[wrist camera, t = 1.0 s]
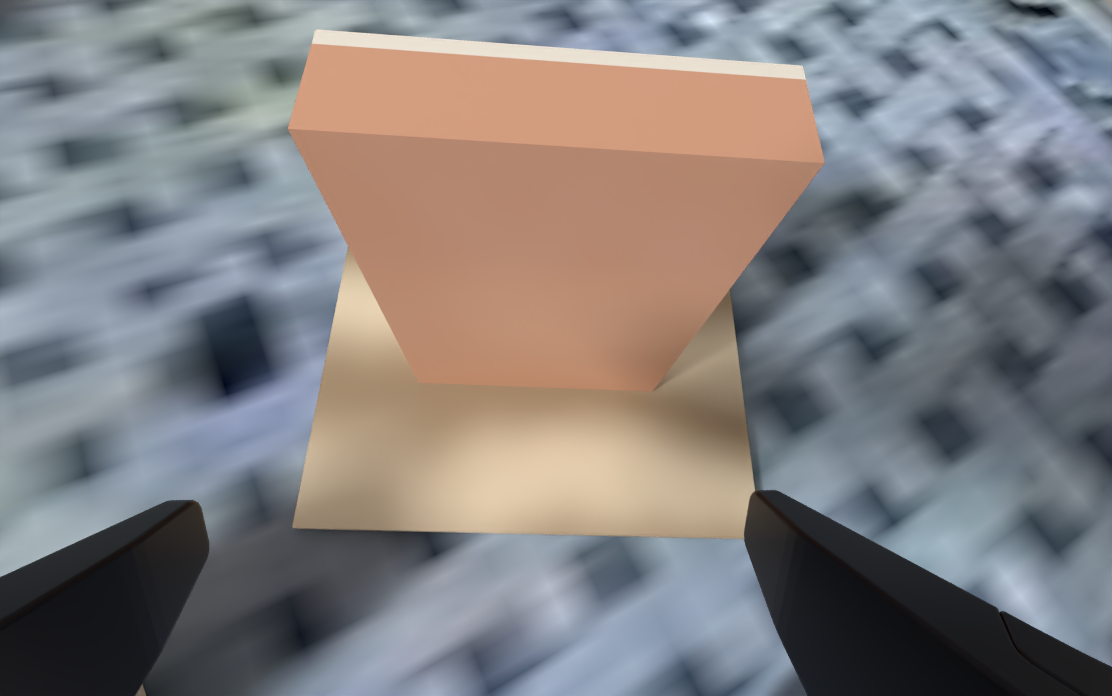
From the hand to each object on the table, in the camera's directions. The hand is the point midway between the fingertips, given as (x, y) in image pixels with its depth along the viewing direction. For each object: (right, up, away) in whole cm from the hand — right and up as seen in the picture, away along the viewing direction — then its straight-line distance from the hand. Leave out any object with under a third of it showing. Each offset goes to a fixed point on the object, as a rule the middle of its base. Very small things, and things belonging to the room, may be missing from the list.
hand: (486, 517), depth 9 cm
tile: (0, +2, +14) cm, 15 cm away
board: (0, +7, +17) cm, 18 cm away
